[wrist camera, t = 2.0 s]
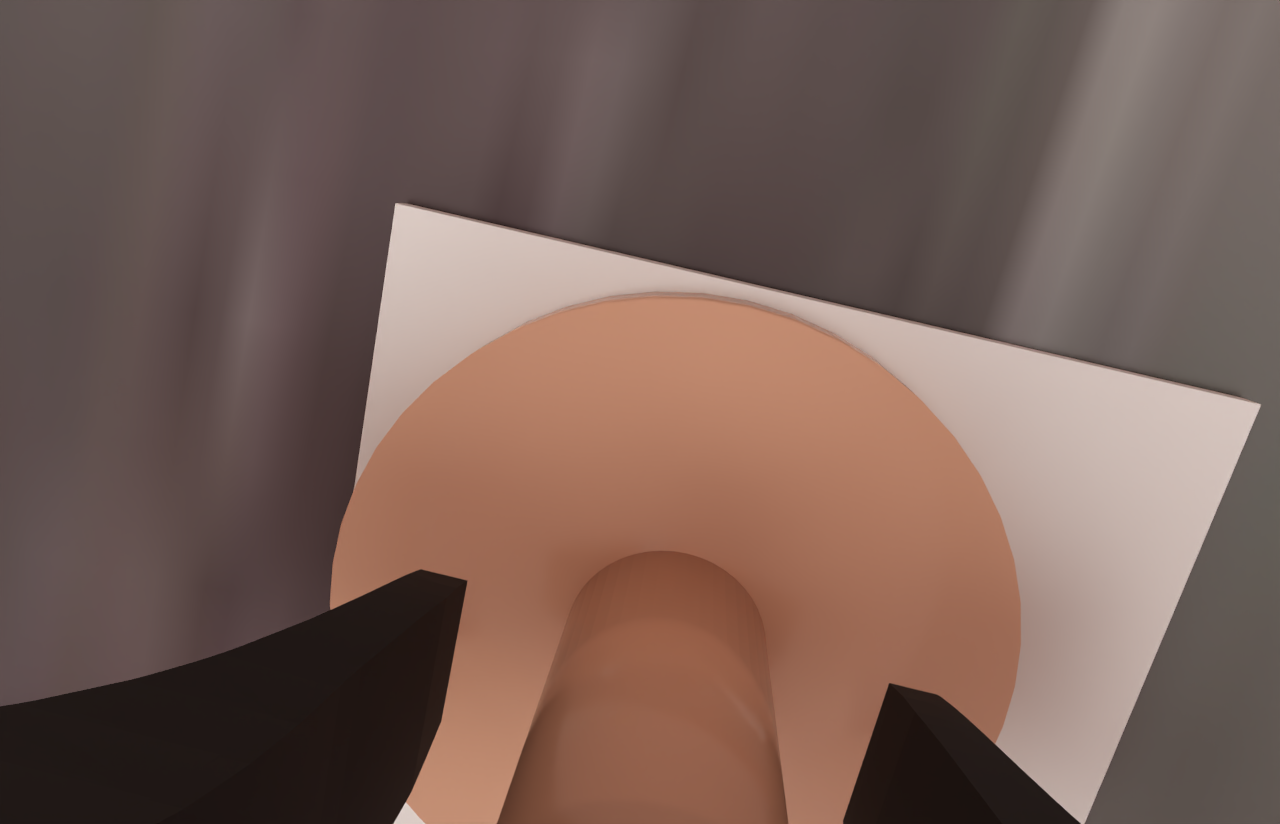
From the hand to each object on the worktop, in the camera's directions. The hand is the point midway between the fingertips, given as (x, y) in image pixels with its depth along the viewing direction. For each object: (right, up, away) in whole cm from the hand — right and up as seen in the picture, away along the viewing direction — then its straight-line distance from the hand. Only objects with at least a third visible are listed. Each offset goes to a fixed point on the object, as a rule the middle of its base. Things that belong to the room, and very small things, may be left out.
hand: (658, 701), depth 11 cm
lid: (0, +1, +2) cm, 2 cm away
